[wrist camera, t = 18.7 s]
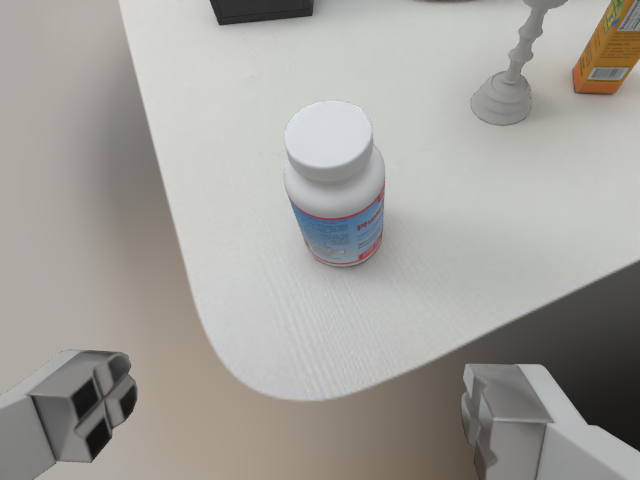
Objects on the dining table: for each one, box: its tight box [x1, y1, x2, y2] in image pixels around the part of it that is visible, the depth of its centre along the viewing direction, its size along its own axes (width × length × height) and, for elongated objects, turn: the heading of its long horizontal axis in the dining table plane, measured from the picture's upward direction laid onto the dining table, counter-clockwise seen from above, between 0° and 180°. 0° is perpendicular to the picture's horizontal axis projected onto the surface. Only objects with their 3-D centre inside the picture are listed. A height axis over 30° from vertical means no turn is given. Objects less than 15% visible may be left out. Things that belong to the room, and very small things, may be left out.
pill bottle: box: [284, 100, 385, 266], centre depth 23 cm, size 6×6×11 cm
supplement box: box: [573, 0, 640, 94], centre depth 27 cm, size 3×3×10 cm
